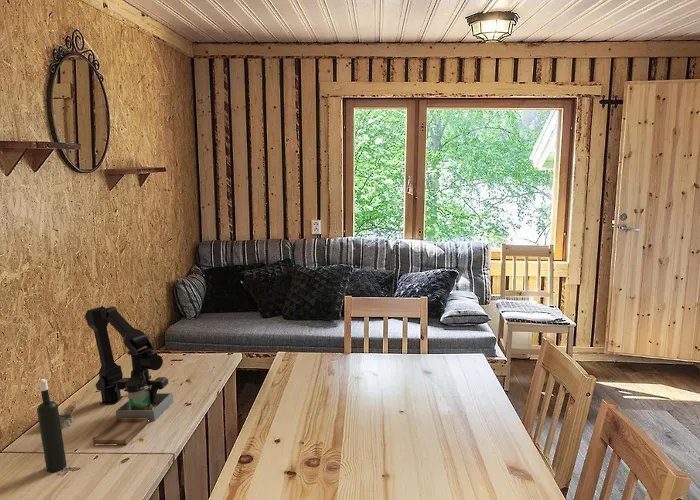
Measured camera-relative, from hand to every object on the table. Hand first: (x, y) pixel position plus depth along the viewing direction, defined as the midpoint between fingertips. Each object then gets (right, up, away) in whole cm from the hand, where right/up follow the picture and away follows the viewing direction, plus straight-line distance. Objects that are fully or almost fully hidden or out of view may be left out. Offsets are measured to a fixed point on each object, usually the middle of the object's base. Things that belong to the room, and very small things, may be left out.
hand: (144, 404), depth 218 cm
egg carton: (-31, -7, -7) cm, 32 cm away
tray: (-2, -6, -17) cm, 18 cm away
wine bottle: (-15, -10, -38) cm, 42 cm away
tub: (0, -3, 0) cm, 3 cm away
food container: (0, -3, 0) cm, 3 cm away
